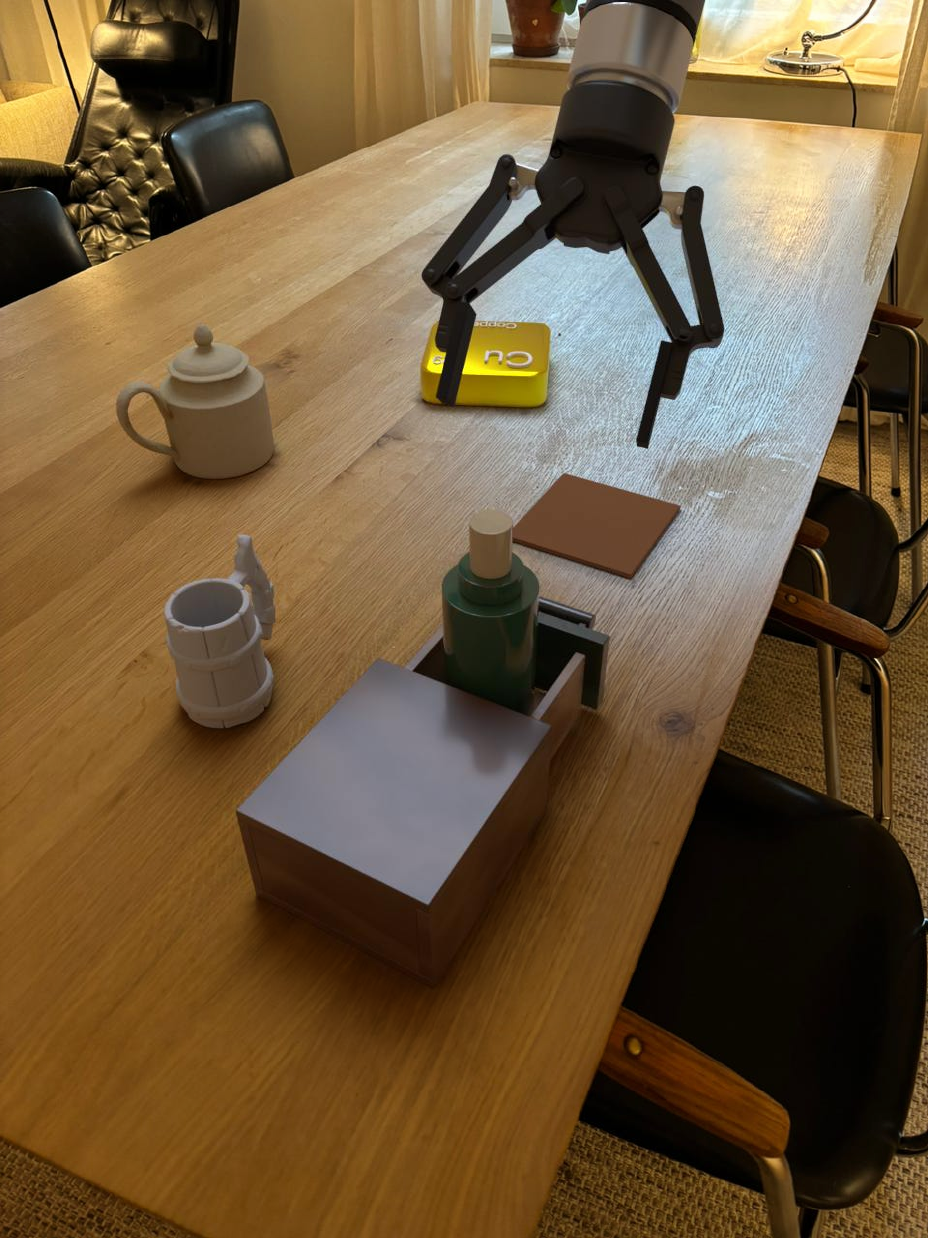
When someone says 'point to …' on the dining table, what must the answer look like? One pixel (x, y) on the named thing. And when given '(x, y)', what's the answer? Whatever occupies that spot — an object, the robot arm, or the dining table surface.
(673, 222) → the robot arm
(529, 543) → the cork mat
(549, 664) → the drawer
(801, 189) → the dining table surface
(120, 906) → the dining table surface
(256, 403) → the sugar bowl
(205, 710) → the mug
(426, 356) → the element tile
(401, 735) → the cabinet
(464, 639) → the oil bottle
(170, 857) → the dining table surface
